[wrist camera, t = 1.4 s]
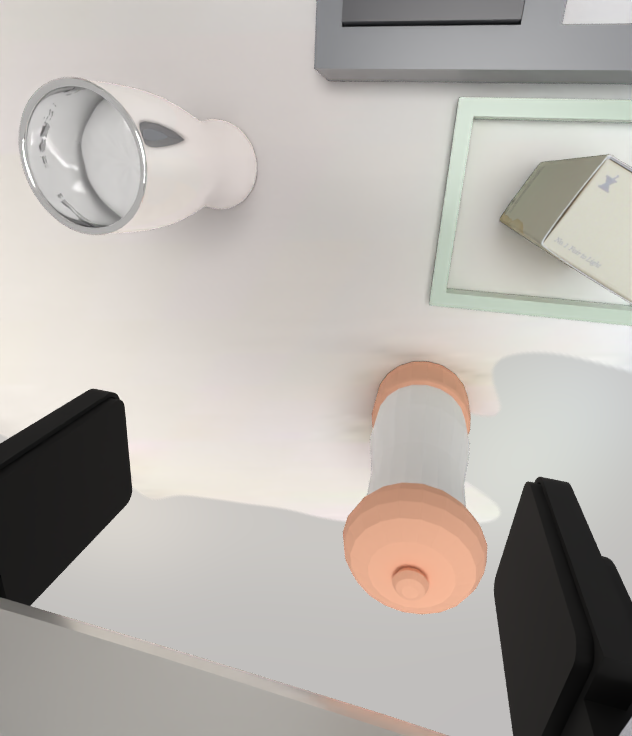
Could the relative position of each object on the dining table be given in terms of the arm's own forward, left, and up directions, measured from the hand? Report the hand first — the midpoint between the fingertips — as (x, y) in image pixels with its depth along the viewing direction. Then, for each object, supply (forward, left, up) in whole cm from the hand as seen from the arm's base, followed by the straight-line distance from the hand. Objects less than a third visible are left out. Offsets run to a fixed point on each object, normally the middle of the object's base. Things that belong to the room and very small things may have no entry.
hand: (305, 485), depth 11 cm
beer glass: (-7, -14, -27) cm, 31 cm away
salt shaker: (+10, +3, -27) cm, 29 cm away
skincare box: (-5, +10, -27) cm, 29 cm away
